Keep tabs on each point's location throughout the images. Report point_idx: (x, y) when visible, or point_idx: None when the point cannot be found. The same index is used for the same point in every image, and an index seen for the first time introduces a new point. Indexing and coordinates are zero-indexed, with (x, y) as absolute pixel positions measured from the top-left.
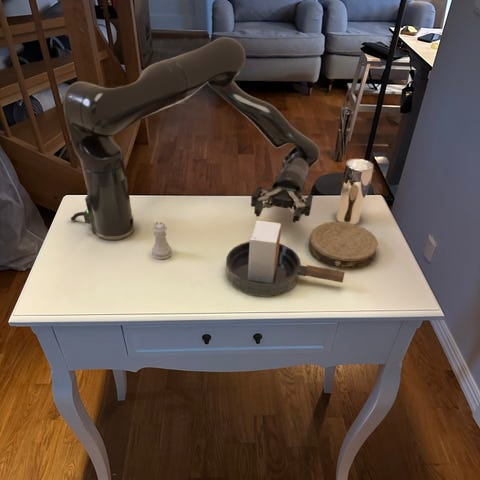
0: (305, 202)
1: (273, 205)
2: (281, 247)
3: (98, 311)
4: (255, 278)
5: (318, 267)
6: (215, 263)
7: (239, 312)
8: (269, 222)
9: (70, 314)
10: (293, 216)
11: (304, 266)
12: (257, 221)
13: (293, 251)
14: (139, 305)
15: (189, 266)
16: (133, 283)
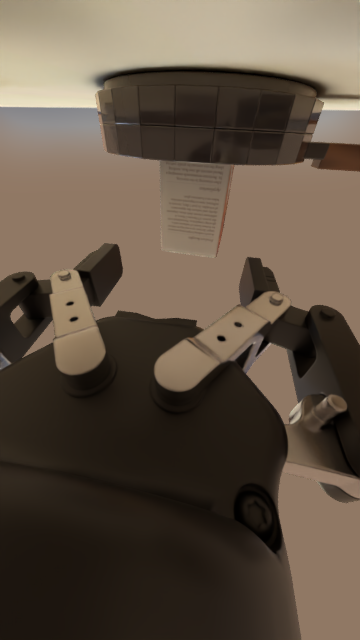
0: (307, 404)
1: (93, 317)
2: (238, 154)
3: (42, 106)
4: None
5: (347, 170)
6: (63, 86)
7: None
8: (190, 253)
9: (26, 106)
10: (241, 281)
11: (314, 158)
12: (165, 249)
13: (283, 164)
14: (69, 105)
15: (27, 90)
16: (11, 99)
